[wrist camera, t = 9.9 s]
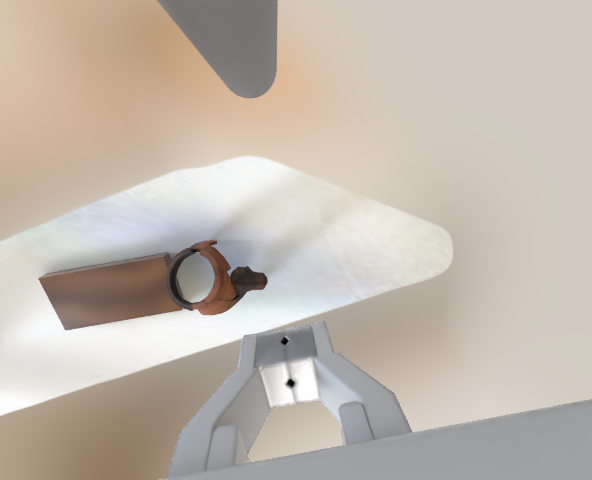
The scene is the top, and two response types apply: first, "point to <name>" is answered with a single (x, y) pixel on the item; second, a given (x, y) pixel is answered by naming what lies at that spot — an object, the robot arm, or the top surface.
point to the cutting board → (110, 291)
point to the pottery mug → (215, 281)
